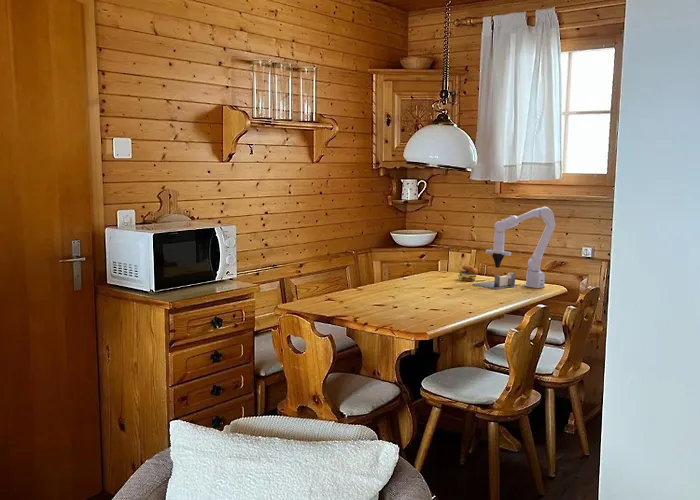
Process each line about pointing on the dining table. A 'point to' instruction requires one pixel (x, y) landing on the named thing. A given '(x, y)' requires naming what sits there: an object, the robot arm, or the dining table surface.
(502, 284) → the gate
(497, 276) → the hinge post
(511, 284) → the stile
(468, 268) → the cheeseburger
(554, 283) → the dining table surface
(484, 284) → the mat
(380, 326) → the dining table surface
